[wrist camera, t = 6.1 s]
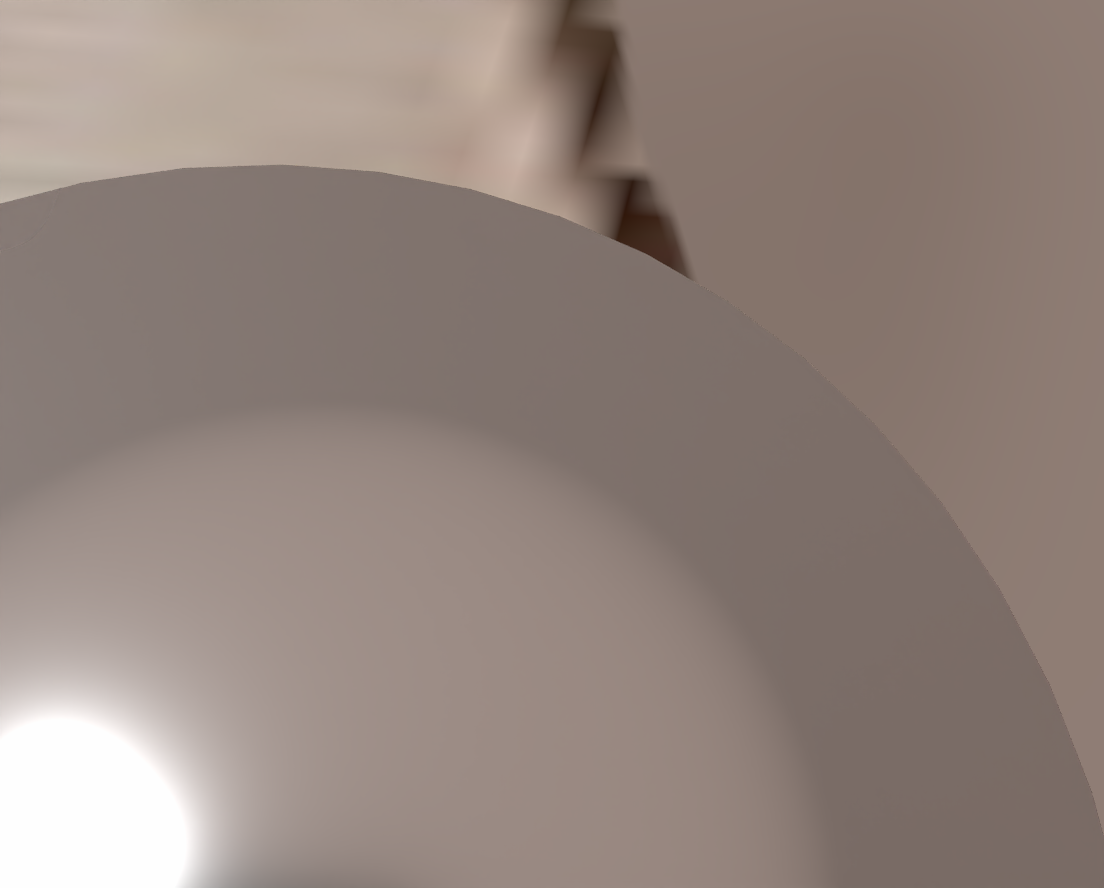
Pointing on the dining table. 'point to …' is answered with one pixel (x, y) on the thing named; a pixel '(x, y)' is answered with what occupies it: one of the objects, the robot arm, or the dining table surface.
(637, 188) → the dining table surface
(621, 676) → the steel pin
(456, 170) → the dining table surface
